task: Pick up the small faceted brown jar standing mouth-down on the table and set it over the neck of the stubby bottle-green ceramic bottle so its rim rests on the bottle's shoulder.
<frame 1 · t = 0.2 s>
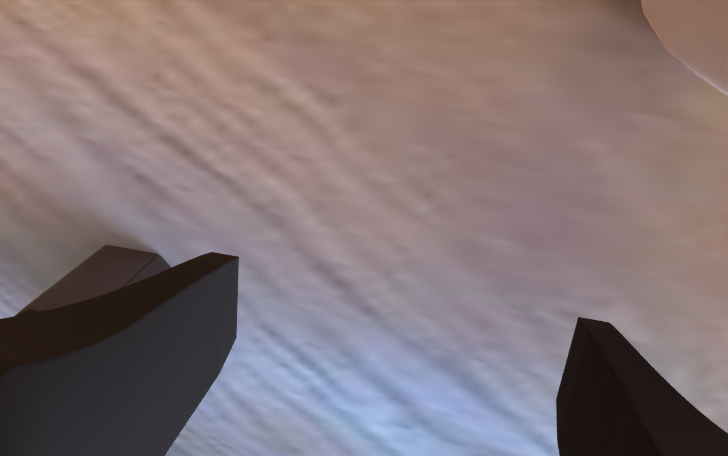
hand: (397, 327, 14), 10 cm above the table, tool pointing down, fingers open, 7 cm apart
faceted brown jar: (135, 307, 28), on the table
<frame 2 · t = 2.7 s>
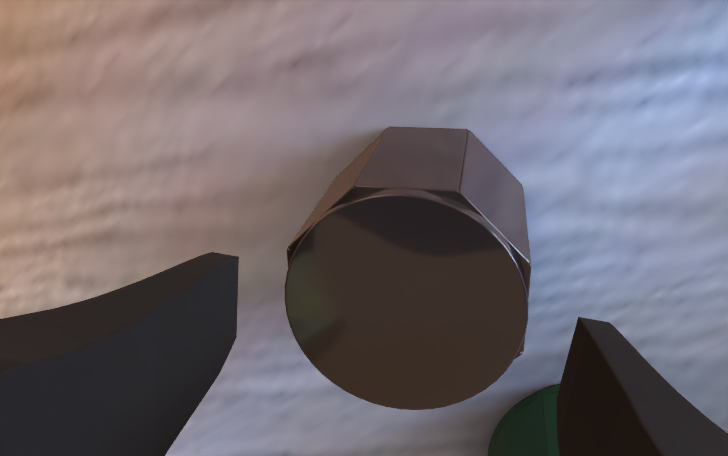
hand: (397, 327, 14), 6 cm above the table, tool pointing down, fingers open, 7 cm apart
faceted brown jar: (426, 217, 20), on the table
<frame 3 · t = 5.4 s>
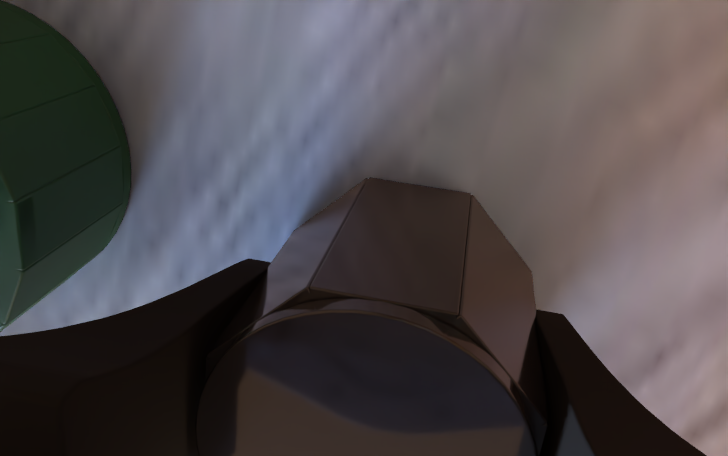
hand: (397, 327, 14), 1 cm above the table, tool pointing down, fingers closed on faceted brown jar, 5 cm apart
faceted brown jar: (403, 295, 15), on the table, touching gripper
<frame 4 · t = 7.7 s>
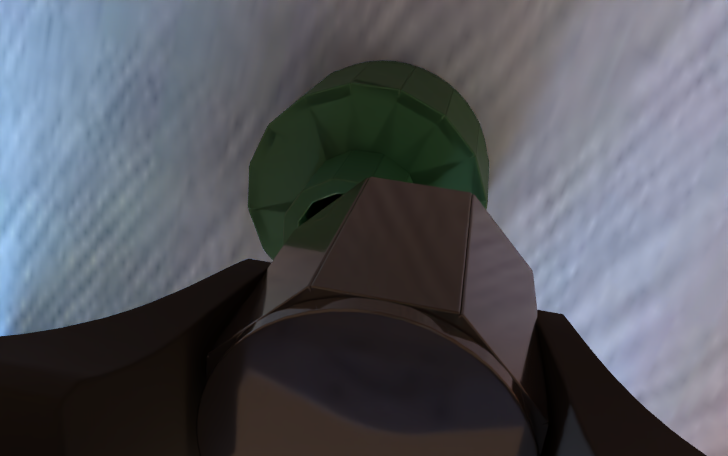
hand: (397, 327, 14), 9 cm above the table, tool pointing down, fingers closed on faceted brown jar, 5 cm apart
faceted brown jar: (404, 294, 15), point 8 cm above the table, touching gripper
bottle: (384, 163, 23), on the table
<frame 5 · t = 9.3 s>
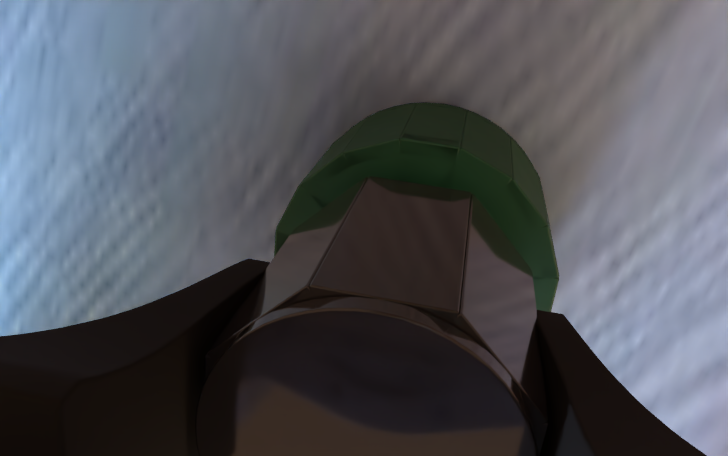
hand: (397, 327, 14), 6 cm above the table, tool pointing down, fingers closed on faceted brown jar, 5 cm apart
faceted brown jar: (403, 293, 15), point 5 cm above the table, touching gripper
bottle: (425, 217, 20), on the table
when the fingers open (5 cm above the table, at t = 10.2 s): faceted brown jar stays where it is, resting on bottle.
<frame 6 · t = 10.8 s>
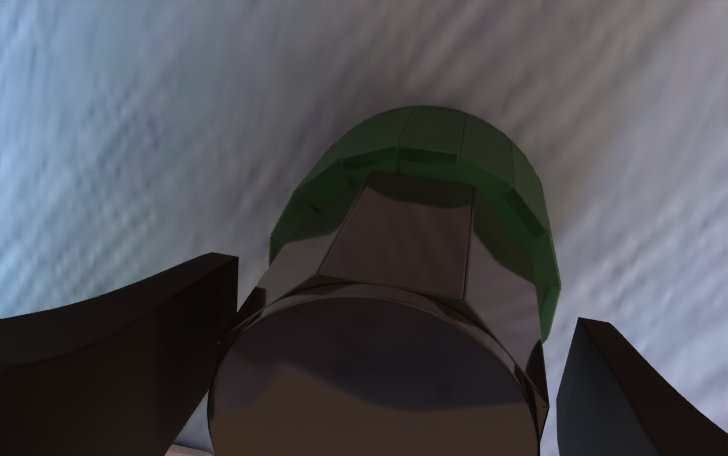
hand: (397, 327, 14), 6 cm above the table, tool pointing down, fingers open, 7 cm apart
faceted brown jar: (407, 285, 16), point 4 cm above the table, touching bottle
bottle: (424, 222, 19), on the table, touching faceted brown jar
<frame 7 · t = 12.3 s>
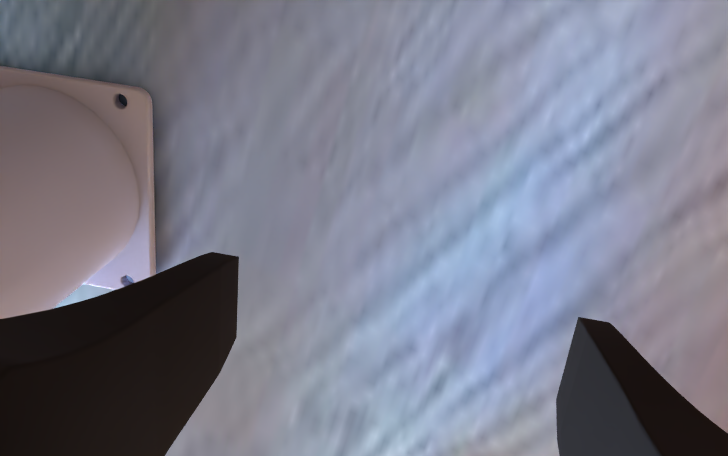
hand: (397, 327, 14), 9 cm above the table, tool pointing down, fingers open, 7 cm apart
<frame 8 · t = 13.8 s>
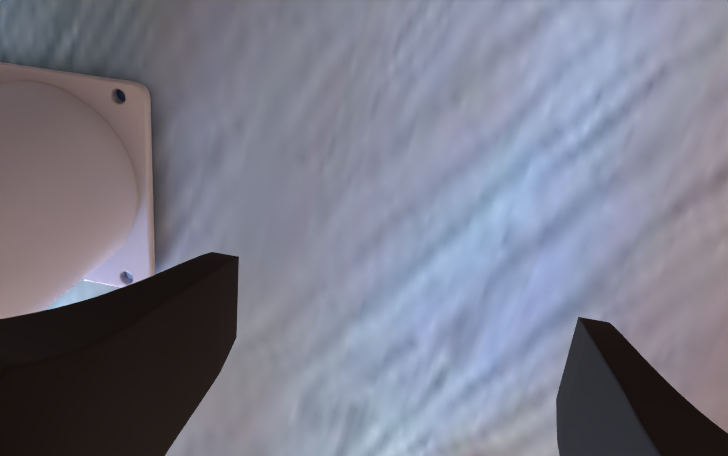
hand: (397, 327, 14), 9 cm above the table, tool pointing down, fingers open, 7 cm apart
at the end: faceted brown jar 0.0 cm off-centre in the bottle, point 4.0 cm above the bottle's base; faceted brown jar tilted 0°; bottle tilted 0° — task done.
